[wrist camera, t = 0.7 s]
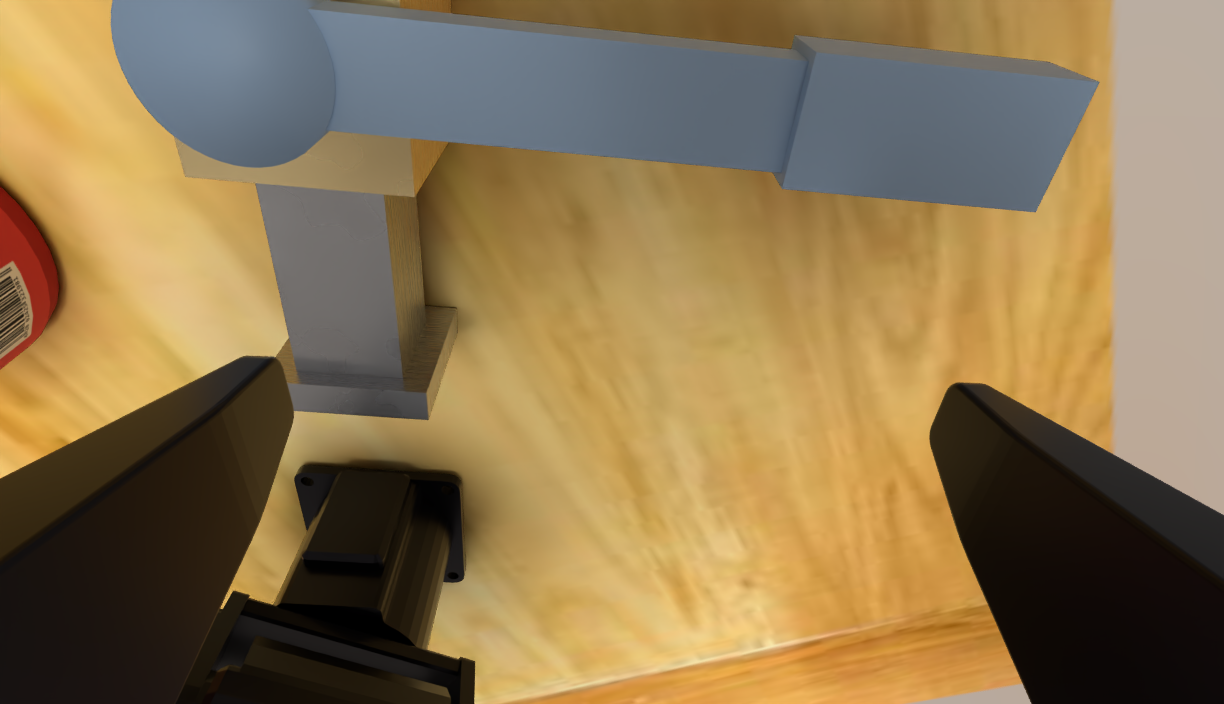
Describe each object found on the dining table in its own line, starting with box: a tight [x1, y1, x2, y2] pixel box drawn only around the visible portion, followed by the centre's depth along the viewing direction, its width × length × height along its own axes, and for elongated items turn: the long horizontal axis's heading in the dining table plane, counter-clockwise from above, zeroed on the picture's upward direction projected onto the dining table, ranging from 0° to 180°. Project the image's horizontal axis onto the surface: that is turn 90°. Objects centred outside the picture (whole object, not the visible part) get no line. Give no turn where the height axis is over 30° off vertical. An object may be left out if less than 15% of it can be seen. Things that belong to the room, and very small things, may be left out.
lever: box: [111, 0, 1099, 212], centre depth 12 cm, size 4×17×2 cm, turn 84°
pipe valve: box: [174, 0, 458, 420], centre depth 15 cm, size 20×5×5 cm, turn 174°
